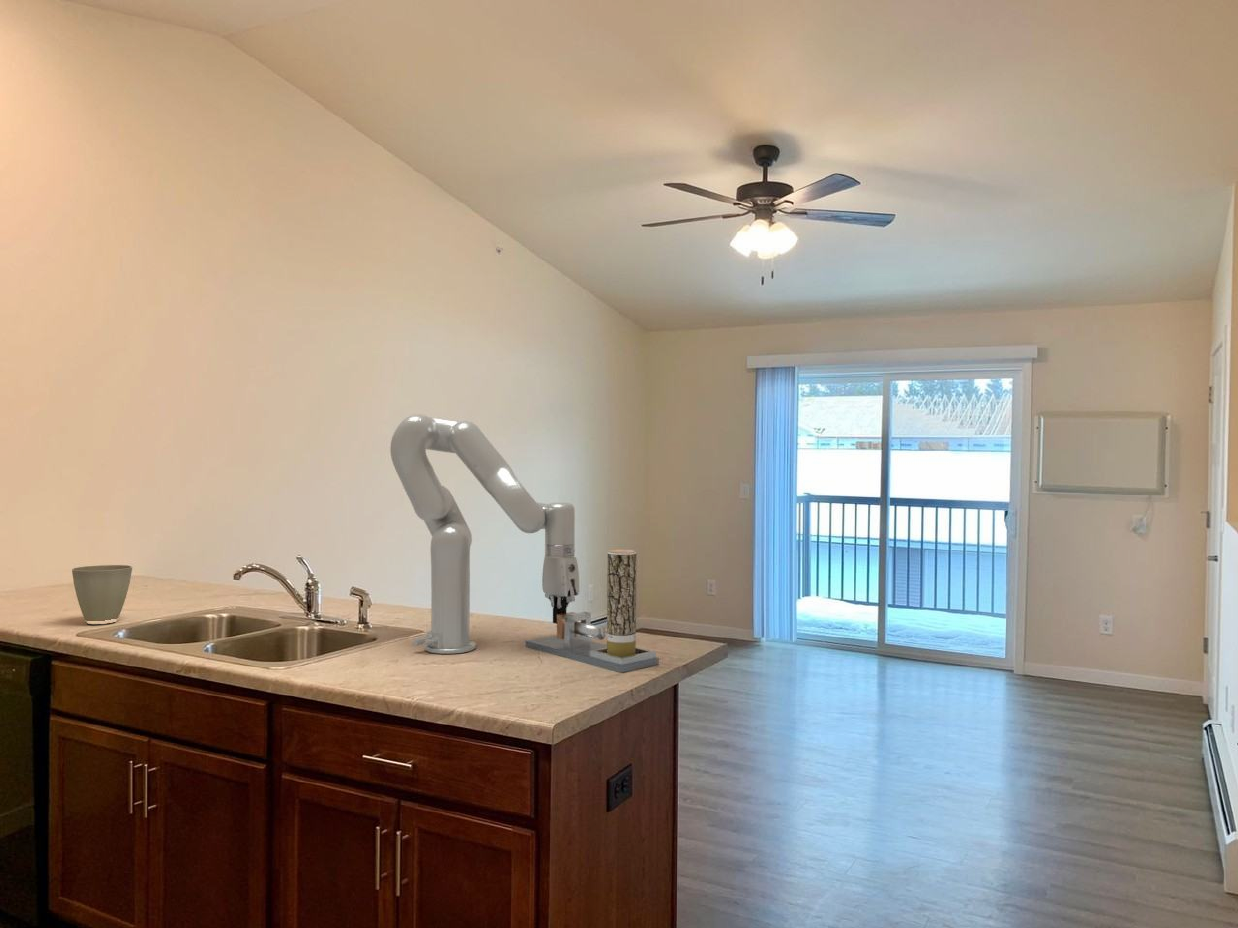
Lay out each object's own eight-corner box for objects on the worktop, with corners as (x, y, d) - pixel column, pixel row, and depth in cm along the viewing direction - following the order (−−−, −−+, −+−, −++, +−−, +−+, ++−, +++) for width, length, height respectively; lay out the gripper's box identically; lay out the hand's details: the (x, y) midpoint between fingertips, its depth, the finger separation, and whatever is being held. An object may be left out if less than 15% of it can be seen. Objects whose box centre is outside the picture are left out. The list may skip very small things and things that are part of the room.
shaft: (593, 647, 205) (593, 622, 205) (556, 637, 215) (557, 614, 215) (608, 644, 208) (609, 619, 208) (572, 635, 218) (572, 611, 218)
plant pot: (124, 626, 240) (124, 570, 240) (63, 629, 236) (63, 571, 236) (138, 617, 254) (138, 563, 254) (81, 619, 250) (81, 565, 250)
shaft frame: (621, 672, 192) (621, 630, 192) (525, 646, 219) (525, 609, 219) (658, 664, 201) (659, 623, 201) (561, 639, 227) (562, 604, 227)
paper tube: (614, 661, 196) (615, 553, 196) (601, 655, 203) (602, 550, 202) (640, 658, 200) (641, 551, 199) (627, 652, 206) (628, 549, 206)
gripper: (590, 552, 215) (590, 625, 216) (552, 547, 226) (552, 617, 226) (567, 554, 210) (567, 629, 210) (530, 549, 221) (530, 620, 221)
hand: (559, 622), depth 218 cm, fingers closed
